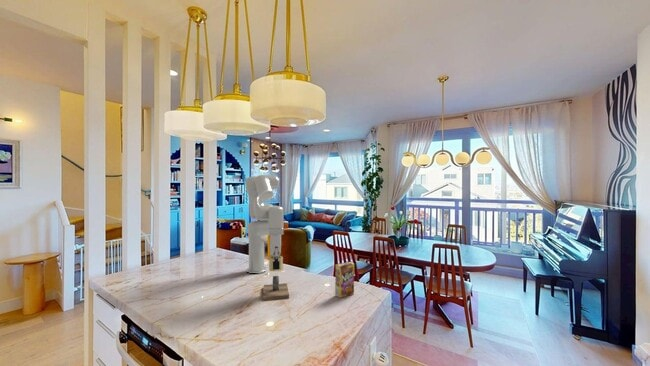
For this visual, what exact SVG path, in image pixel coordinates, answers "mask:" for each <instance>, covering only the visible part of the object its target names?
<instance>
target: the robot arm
mask: <svg viewBox="0 0 650 366" xmlns="http://www.w3.org/2000/svg"><path fill="white" fill-rule="evenodd" d="M279 187H280V178H279V177H278V176H277V175H273V174H260V175H257V176H249V177H246V180H245V190H246V192H247V195H248V203H249V204H248V205H249V209H248V210H249V213H248V214H249V216H250V219H253V220H254V221H251V222H249V223H248V224H247V228H246V229H247V235H248V268H246V270H245V272H246V271H247V272H249V273H259V274H262V273H261V272H263V273H265V272H267V271H268V268H267V267H265V241H264V240H263V238H262V236H270V238H269V243H270V244H269V249H270V251H269V253H270V254H269V255H270V257H271V256H273V270H277V269H280V261H279V256H281V253H282V251H281V250H282V235H285V233H284V220H285V219H284V212H285V211H284V207H282V206H279V205H274V204H271V203H266V202H268V201H270V200H271V199H272V198H273V196H274V191H273V190H277V189H278V188H279ZM274 256H275V257H274ZM264 271H265V272H264ZM247 272H246V273H247ZM249 273H248V274H249Z"/></svg>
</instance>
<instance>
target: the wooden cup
mask: <svg viewBox="0 0 650 366" xmlns="http://www.w3.org/2000/svg"><path fill="white" fill-rule="evenodd" d="M274 257H275V256H274ZM268 261H269V262H268V264H269V265H268V266H269V267H268V271H270V272H280V271H282V270H283V269H284V257H283V255H279V261H280V269H277V270H273V255H272V256H271V255H270V256H269V258H268Z"/></svg>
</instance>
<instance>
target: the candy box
mask: <svg viewBox="0 0 650 366" xmlns="http://www.w3.org/2000/svg"><path fill="white" fill-rule="evenodd" d="M334 283H335V287H334V295H335V297H338V298H339V299H341V298H344V297H348V296H351V295H354V294H355V263H354V262H351V261H347V262H341V263H336V264H335V282H334Z"/></svg>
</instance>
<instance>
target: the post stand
mask: <svg viewBox="0 0 650 366" xmlns="http://www.w3.org/2000/svg"><path fill="white" fill-rule="evenodd" d="M262 292H263V294H262V301H271V300H272V301H273V300H284V299H290V294H289V288H288V283H286V282H285V283H283V282H282V283H280V276H279V275H273V276H272V283H271V284H264V285H263V291H262Z"/></svg>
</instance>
